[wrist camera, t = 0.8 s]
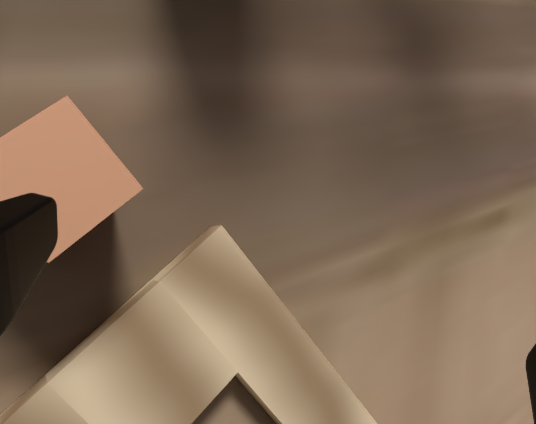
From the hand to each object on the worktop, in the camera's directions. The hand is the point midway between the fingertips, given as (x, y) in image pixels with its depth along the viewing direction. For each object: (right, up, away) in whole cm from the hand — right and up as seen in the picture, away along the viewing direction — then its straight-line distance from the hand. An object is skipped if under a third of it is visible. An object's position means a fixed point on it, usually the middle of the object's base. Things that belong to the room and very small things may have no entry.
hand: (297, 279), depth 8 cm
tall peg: (-10, +2, +13) cm, 16 cm away
